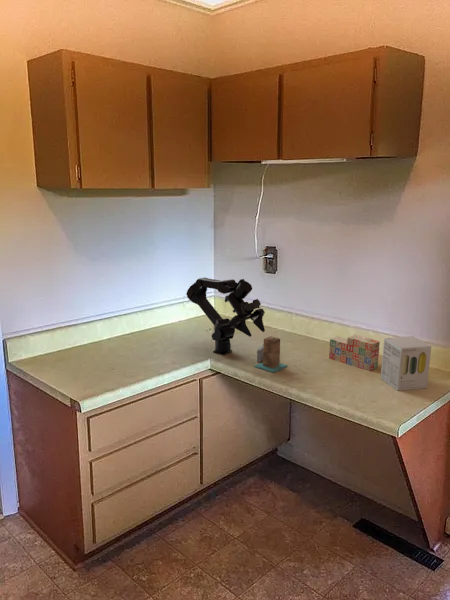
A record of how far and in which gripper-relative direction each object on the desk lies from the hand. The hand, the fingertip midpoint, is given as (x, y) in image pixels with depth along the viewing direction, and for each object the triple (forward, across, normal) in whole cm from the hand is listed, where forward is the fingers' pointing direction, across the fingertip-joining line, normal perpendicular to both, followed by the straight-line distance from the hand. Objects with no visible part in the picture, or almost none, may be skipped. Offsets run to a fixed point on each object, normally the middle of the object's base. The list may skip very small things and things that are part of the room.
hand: (257, 333), depth 233 cm
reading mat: (+14, +1, +5) cm, 15 cm away
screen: (+8, +8, +12) cm, 16 cm away
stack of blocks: (+31, +30, -12) cm, 45 cm away
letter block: (+14, +1, +4) cm, 15 cm away
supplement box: (+50, +22, -31) cm, 62 cm away
